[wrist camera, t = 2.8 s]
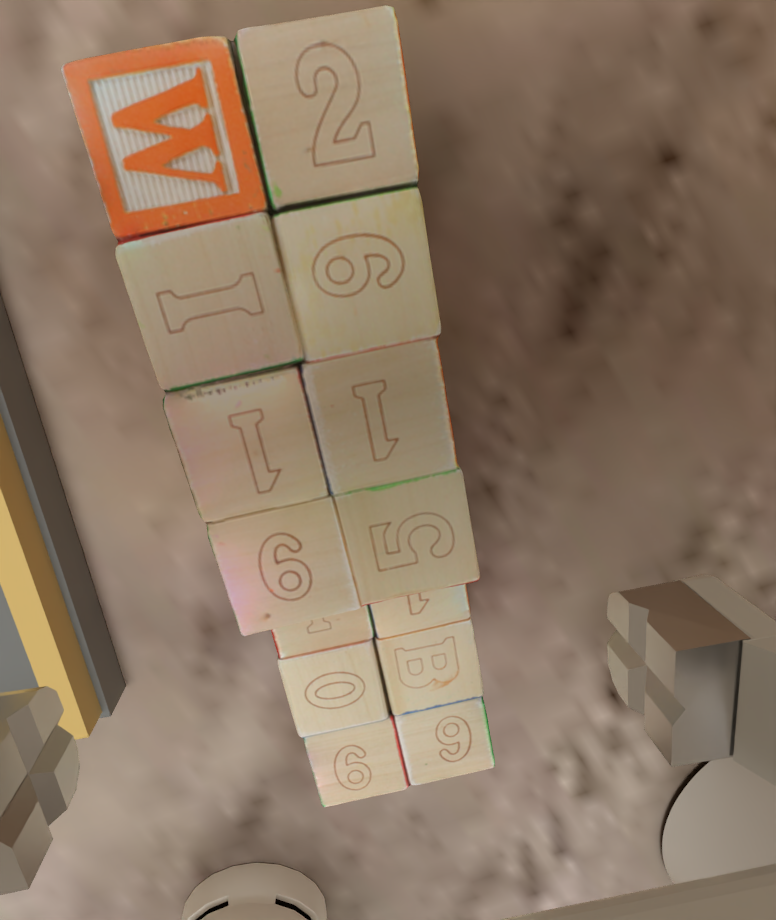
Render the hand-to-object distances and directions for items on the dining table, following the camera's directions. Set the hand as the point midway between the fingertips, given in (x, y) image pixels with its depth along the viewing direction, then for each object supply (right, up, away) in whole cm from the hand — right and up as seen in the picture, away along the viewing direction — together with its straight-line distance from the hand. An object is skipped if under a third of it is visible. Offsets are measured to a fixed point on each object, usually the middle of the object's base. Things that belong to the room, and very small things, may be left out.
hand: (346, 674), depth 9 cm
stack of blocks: (-2, +5, +17) cm, 18 cm away
